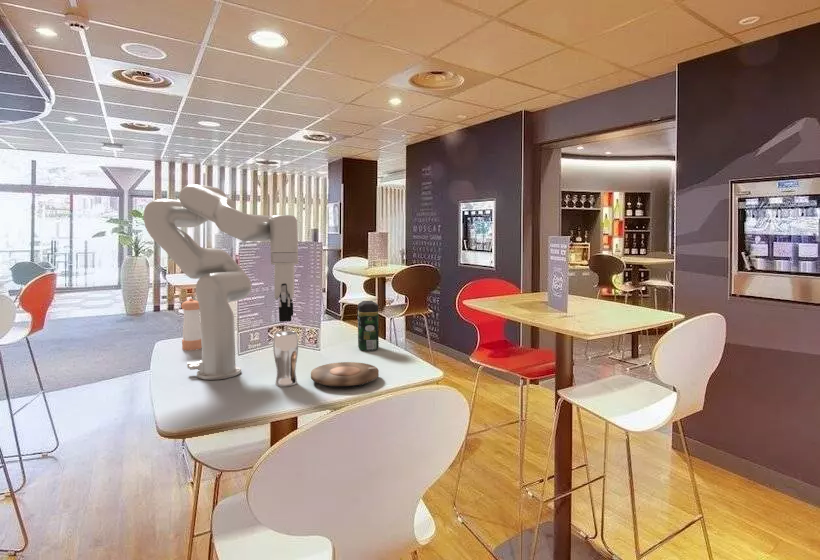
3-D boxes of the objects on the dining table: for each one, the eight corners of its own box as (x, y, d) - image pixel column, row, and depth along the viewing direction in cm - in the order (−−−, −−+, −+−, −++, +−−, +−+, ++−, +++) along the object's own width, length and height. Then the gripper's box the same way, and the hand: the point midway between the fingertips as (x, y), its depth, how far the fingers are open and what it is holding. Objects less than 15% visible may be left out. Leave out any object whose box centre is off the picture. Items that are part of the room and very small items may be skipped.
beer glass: (292, 388, 127) (291, 336, 126) (269, 386, 129) (268, 334, 128) (302, 380, 134) (301, 331, 133) (281, 379, 136) (280, 330, 134)
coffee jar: (357, 346, 178) (356, 299, 177) (377, 345, 180) (377, 299, 178) (358, 352, 169) (358, 303, 167) (379, 351, 170) (379, 302, 169)
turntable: (310, 387, 123) (310, 381, 123) (311, 367, 143) (311, 361, 142) (382, 383, 127) (382, 377, 127) (374, 364, 147) (374, 359, 146)
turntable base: (321, 389, 127) (321, 384, 127) (321, 374, 140) (321, 370, 140) (371, 386, 129) (371, 381, 129) (366, 372, 143) (366, 367, 143)
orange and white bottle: (207, 347, 174) (205, 298, 172) (189, 351, 168) (187, 300, 166) (196, 345, 178) (194, 296, 176) (178, 348, 172) (176, 298, 170)
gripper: (273, 258, 136) (275, 314, 137) (267, 260, 119) (269, 324, 120) (299, 257, 137) (301, 313, 139) (296, 259, 121) (298, 323, 122)
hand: (286, 318), depth 130 cm, fingers open, 9 cm apart
